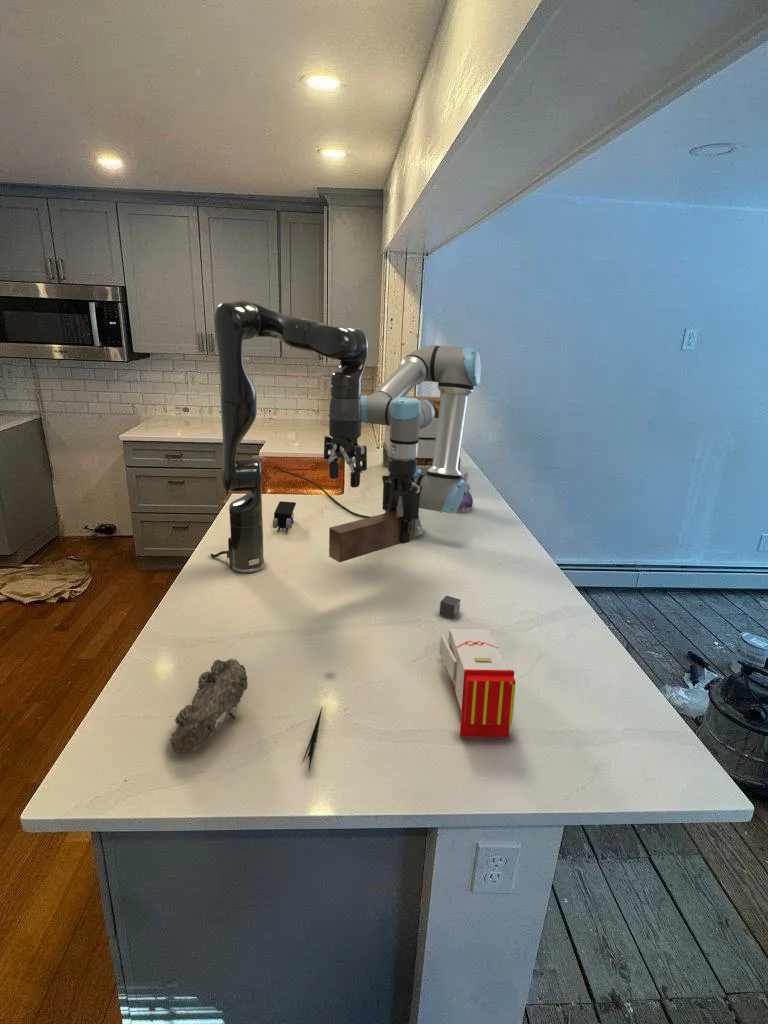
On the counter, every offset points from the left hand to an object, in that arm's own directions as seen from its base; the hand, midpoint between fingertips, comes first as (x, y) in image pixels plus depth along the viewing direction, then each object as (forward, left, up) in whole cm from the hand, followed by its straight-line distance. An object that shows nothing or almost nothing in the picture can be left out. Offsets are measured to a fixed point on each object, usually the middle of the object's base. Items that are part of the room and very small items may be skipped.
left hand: (344, 482), depth 139 cm
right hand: (+11, +16, -20) cm, 28 cm away
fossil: (-10, -48, -34) cm, 60 cm away
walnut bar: (+6, +8, -20) cm, 22 cm away
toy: (+36, -26, -34) cm, 57 cm away
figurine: (+23, +89, -34) cm, 98 cm away
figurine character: (-36, +48, -34) cm, 69 cm away
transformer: (-3, +135, -34) cm, 139 cm away
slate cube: (+28, +5, -34) cm, 45 cm away
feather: (+9, -43, -34) cm, 56 cm away
